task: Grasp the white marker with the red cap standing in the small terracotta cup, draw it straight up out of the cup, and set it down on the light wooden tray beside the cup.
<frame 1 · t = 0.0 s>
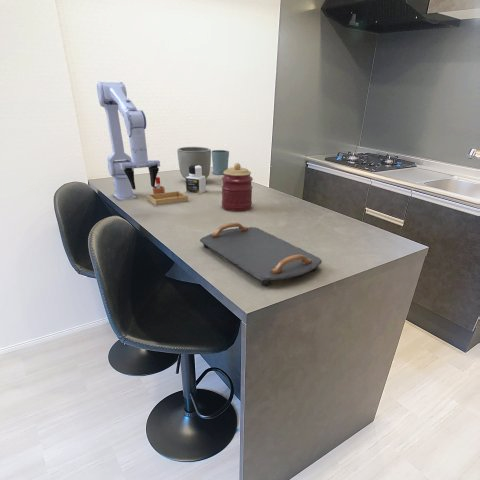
hand: (143, 187, 136), 10 cm above the countertop, tool pointing down, fingers open, 7 cm apart
tray: (167, 201, 157), on the countertop
kitchen canister: (236, 207, 152), on the countertop
planter: (195, 182, 189), on the countertop
cup: (159, 196, 163), on the countertop, touching marker
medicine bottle: (196, 192, 172), on the countertop
serving tray: (257, 258, 108), on the countertop
blue tapered pot: (220, 173, 209), on the countertop
marker: (159, 195, 163), resting on cup
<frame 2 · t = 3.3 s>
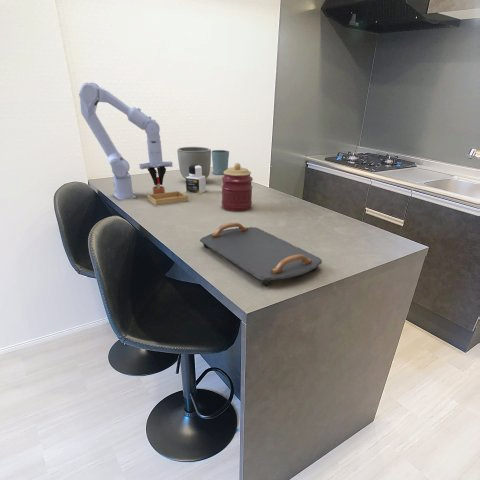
hand: (158, 184, 160), 5 cm above the countertop, tool pointing down, fingers closed on marker, 2 cm apart
marker: (159, 195, 163), resting on cup, touching gripper
everything else where it was.
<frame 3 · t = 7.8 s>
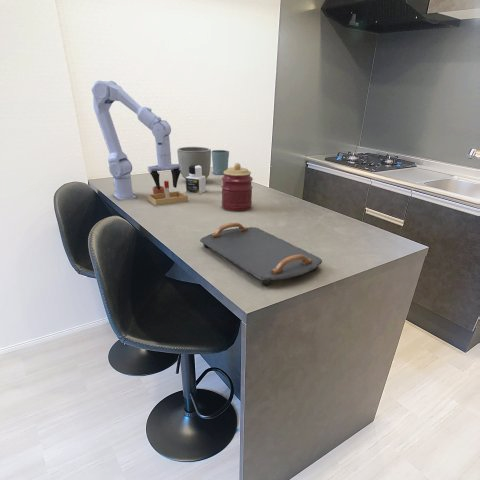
hand: (166, 188, 154), 6 cm above the countertop, tool pointing down, fingers open, 7 cm apart
cup: (159, 196, 163), on the countertop
marker: (167, 200, 157), resting on tray
everything else where it was.
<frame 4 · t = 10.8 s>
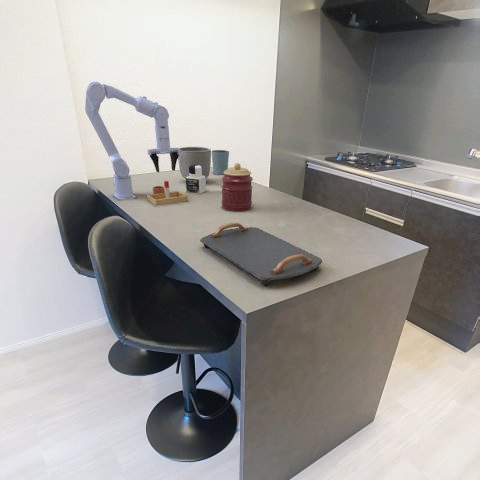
hand: (165, 171, 161), 10 cm above the countertop, tool pointing down, fingers open, 7 cm apart
nothing on the countertop moved.
at the end: marker inside the target area in the tray (0.0 cm from its centre), point 0.5 cm above the tray's base; the gripper is holding nothing; cup moved 0.0 cm from its start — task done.
